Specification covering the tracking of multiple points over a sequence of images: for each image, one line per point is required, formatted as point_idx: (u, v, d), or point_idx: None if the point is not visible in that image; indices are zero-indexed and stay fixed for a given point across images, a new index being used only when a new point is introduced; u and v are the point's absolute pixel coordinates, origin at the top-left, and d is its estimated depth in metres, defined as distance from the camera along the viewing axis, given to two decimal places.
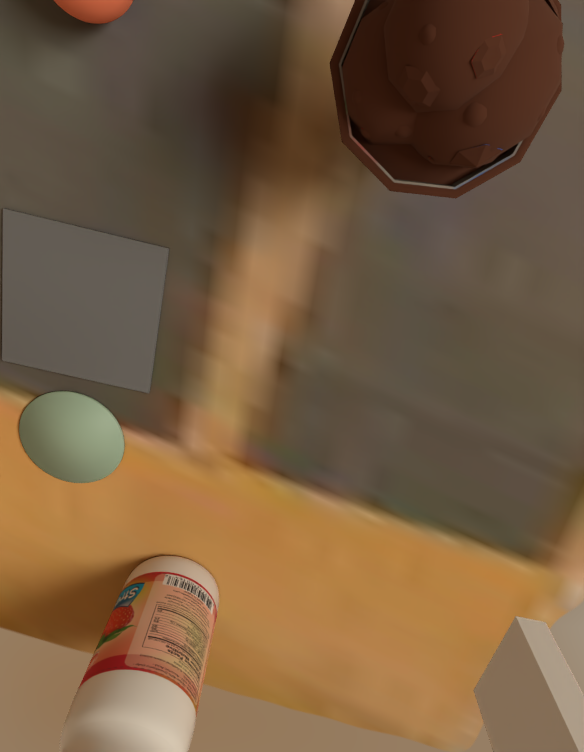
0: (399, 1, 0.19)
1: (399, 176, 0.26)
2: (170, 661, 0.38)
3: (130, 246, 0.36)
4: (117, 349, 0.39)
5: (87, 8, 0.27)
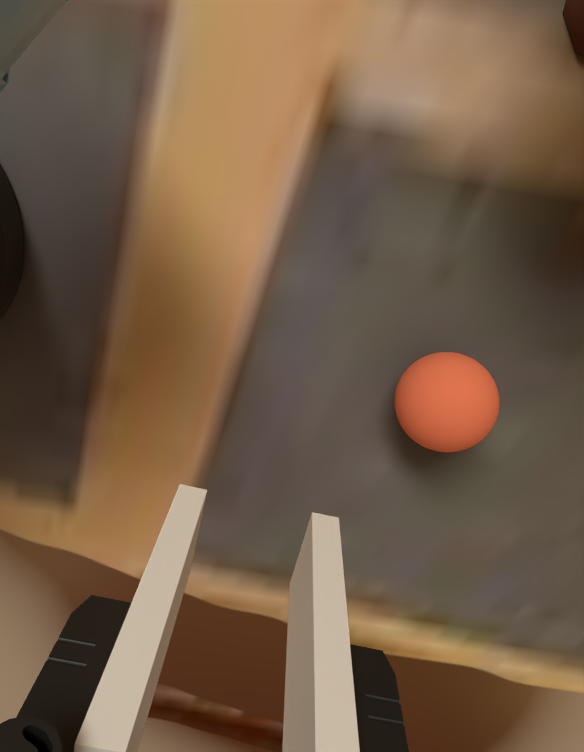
0: None
1: None
2: None
3: None
4: None
5: (498, 410, 0.26)
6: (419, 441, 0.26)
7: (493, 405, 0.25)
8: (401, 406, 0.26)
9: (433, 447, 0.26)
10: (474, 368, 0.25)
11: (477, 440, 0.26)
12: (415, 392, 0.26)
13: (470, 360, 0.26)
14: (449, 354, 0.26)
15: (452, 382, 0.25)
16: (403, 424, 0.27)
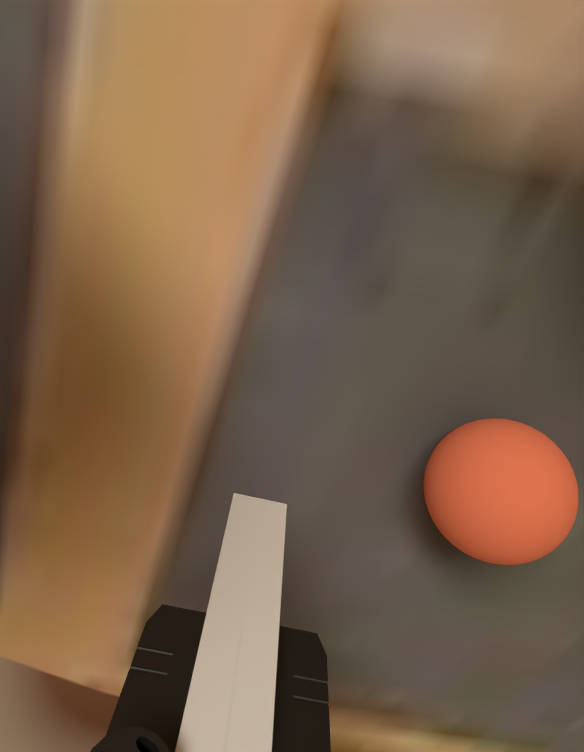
0: None
1: None
2: None
3: None
4: None
5: (577, 507, 0.18)
6: (462, 550, 0.18)
7: (573, 504, 0.17)
8: (435, 500, 0.18)
9: (482, 560, 0.18)
10: (545, 450, 0.17)
11: None
12: (458, 484, 0.17)
13: (537, 435, 0.18)
14: (505, 425, 0.18)
15: (515, 474, 0.17)
16: (438, 524, 0.19)
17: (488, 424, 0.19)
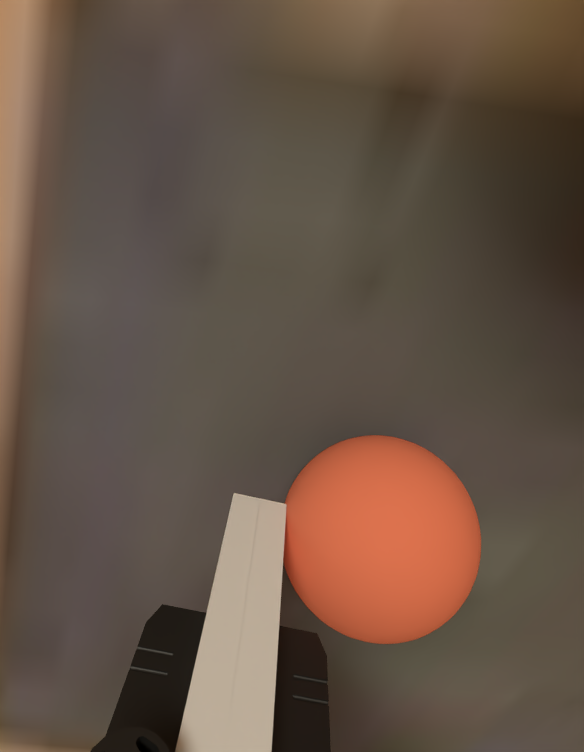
0: None
1: None
2: None
3: None
4: None
5: (479, 561, 0.13)
6: (324, 622, 0.13)
7: (467, 562, 0.12)
8: (284, 555, 0.13)
9: (351, 637, 0.13)
10: (426, 485, 0.12)
11: (437, 627, 0.12)
12: (305, 536, 0.12)
13: (419, 462, 0.13)
14: (378, 448, 0.13)
15: (377, 523, 0.11)
16: (293, 586, 0.13)
17: (357, 446, 0.13)
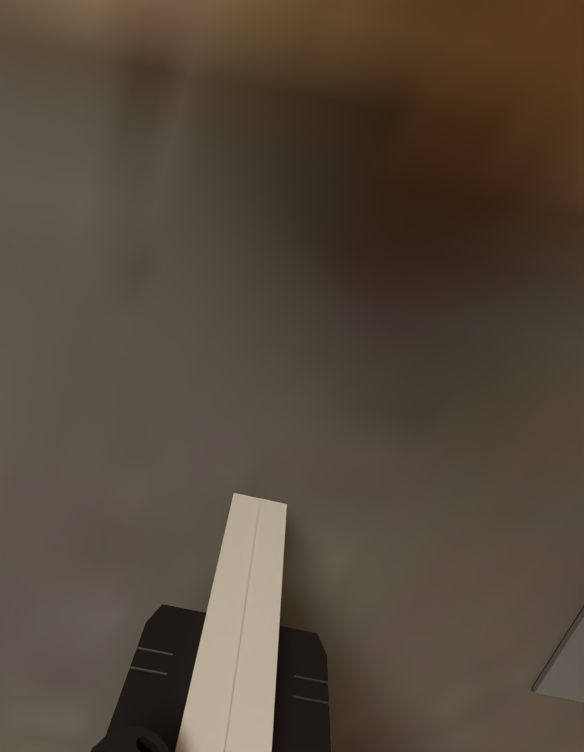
0: None
1: None
2: None
3: None
4: None
5: None
6: None
7: None
8: None
9: None
10: None
11: None
12: None
13: None
14: None
15: None
16: None
17: None
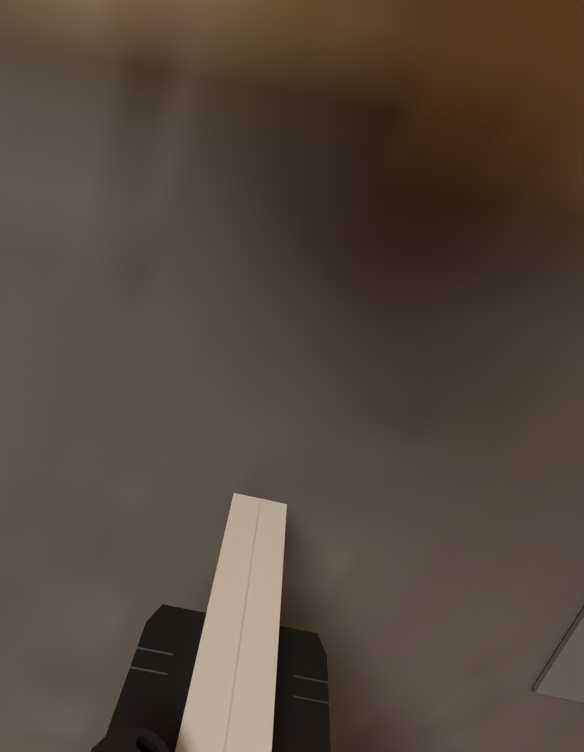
0: None
1: None
2: None
3: None
4: None
5: None
6: None
7: None
8: None
9: None
10: None
11: None
12: None
13: None
14: None
15: None
16: None
17: None
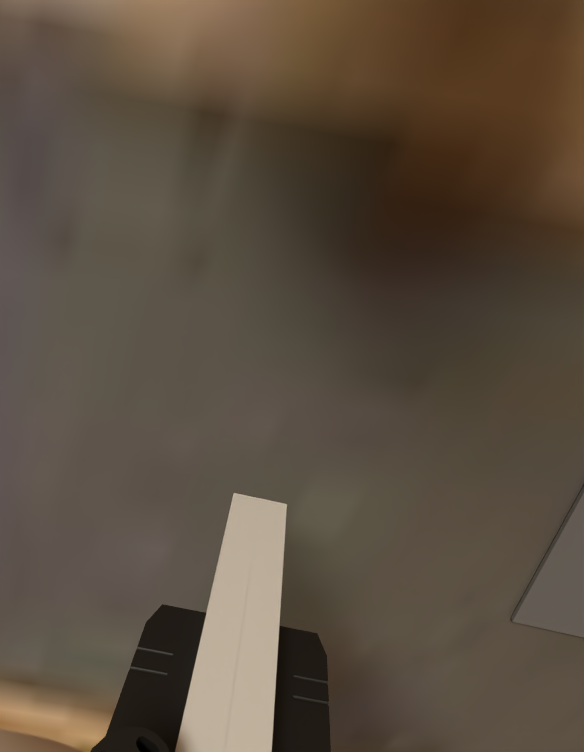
0: None
1: None
2: None
3: None
4: None
5: None
6: None
7: None
8: None
9: None
10: None
11: None
12: None
13: None
14: None
15: None
16: None
17: None
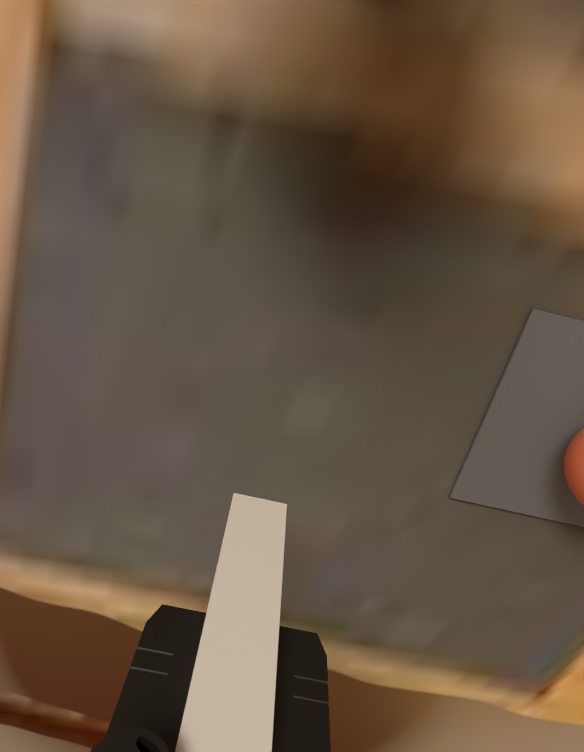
0: None
1: None
2: None
3: (520, 360, 0.26)
4: None
5: None
6: None
7: None
8: None
9: None
10: None
11: None
12: None
13: None
14: None
15: None
16: None
17: None
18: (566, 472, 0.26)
